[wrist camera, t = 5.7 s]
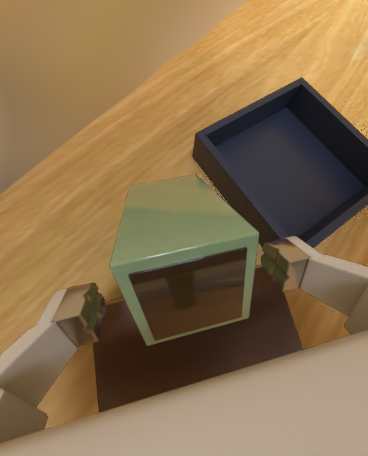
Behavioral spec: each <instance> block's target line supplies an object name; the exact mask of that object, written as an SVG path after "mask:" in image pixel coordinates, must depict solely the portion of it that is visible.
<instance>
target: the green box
mask: <svg viewBox="0 0 368 456" xmlns="http://www.w3.org/2000/svg"><path fill="white" fill-rule="evenodd" d="M258 240H259V232H258V231H257V230H256V229H255V228H254V227H253V226H252V225H251V224H249V223H248V222H247V221H246V220H245V219H244V218H243V217H242V216H241V215H240V214H239V213H237V212H236V211H235V210H234V209H233V208H232V207H231V206H230V205H229V204H228V203H226V202H225V201H224V200H223V199H222V198H221V197H220V196H219V195H218V194H217V193H216V192H214V191H213V190H212V189H211V188H210V187H209V186H208V185H207V184H206V183H205V182H204V181H202V180H201V179H200V178H199V177H198V176H197V175H196V174H193V175H188V176H182V177H176V178H171V179H165V180H159V181H154V182H148V183H143V184H137V185H131V186H130V187H129V191H128V194H127V198H126V202H125V206H124V210H123V214H122V218H121V222H120V225H119V229H118V233H117V237H116V241H115V245H114V249H113V253H112V257H111V260H110V264H109V267H110V269H111V271H112V273H113V275H114V277H115V280H116V282H117V284H118V286H119V288H120V290H121V292H122V294H123V297H124V299H125V301H126V303H127V305H128V307H129V309H130V312H131V314H132V316H133V318H134V320H135V322H136V324H137V326H138V329H139V331H140V333H141V335H142V337H143V339H144V341H145V343H146V346H149V345H153V344H157V343H160V342H164V341H168V340H171V339H175V338H178V337H182V336H186V335H189V334H193V333H197V332H200V331H204V330H208V329H211V328H215V327H219V326H222V325H226V324H229V323H233V322H237V321H240V320H244V319H248V318H249V314H250V305H251V297H252V289H253V281H254V273H255V265H256V256H257V248H258Z"/></svg>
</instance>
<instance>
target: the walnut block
mask: <svg viewBox="0 0 368 456" xmlns="http://www.w3.org/2000/svg"><path fill="white" fill-rule="evenodd" d="M105 309H106V310H105V315H104V317H103V318H102V319H101V320H100V322H101V324H102V329H101V333H100V338H99V341H97V342H94V343H93V350H94V362H95V373H96V384H97V396H98V407H99V412H103V411H106V410H109V409H112V408H116V407H119V406H122V405H125V404H129V403H132V402H135V401H138V400H142V399H145V398H148V397H151V396H154V395H158V394H161V393H164V392H167V391H171V390H174V389H177V388H180V387H184V386H187V385H190V384H193V383H197V382H200V381H203V380H206V379H210V378H213V377H216V376H219V375H223V374H226V373H229V372H232V371H236V370H239V369H242V368H245V367H248V366H252V365H255V364H258V363H261V362H265V361H268V360H271V359H274V358H278V357H281V356H284V355H287V354H291V353H294V352H297V351H300V350H304V349H303V347H302V344H301V341H300V338H299V335H298V332H297V329H296V327H295V324H294V321H293V318H292V315H291V312H290V309H289V306H288V304H287V301H286V298H285V295H284V292H282V291H281V290H280V289H279V287H278V286H277V285H276V284H275V283H274V282H273V277H272V276H270V275H267V273H266V272H265V271H264V269H263V267H262V265H259V266H255V273H254V281H253V289H252V297H251V305H250V314H249V318H248V319H244V320H240V321H237V322H233V323H229V324H226V325H222V326H219V327H215V328H211V329H208V330H204V331H200V332H197V333H193V334H189V335H186V336H182V337H178V338H175V339H171V340H168V341H164V342H160V343H157V344H153V345H149V346H146V343H145V341H144V339H143V337H142V335H141V333H140V331H139V329H138V326H137V324H136V322H135V320H134V318H133V316H132V314H131V312H130V309H129V307H128V305H127V303H126V301H125V299H124V297H121V298H116V299H113V300H111V301H108V302H106V303H105Z"/></svg>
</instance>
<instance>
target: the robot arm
mask: <svg viewBox="0 0 368 456" xmlns="http://www.w3.org/2000/svg"><path fill="white" fill-rule="evenodd" d="M262 250H263V251H264V252H265V253H264V254H263V255H262V256H261V264H262V267H263V269H264V271H265V272H266V273H267V275H270V276H272V277H273V282H274V283H275V284H276V285H277V286H278V287H279V289H280V290H281V291H282V292H285V291H289V290H294V289H298V288H300V290H302V291H304V292H306V293H307V294H309V295H311V296H313V297H315V298H316V299H318V300H320V301H322V302H324V303H326V304H327V305H329V306H331V307H333V308H335V309H336V310H338V311H340V312H342V313H344V314H345V315H347V316H349V317H348V319H347V321H346V322H345V324H344V328H345V329H346V330H347V331H348V332H349V333H350V334H351V335H349V336H346V337H342V338H339V339H336V340H333V341H330V342H326V343H323V344H320V345H317V346H313V347H310V348H307V349H304V350H300V351H297V352H294V353H291V354H287V355H284V356H281V357H278V358H274V359H271V360H268V361H265V362H261V363H258V364H255V365H252V366H248V367H245V368H242V369H239V370H236V371H232V372H229V373H226V374H223V375H219V376H216V377H213V378H210V379H206V380H203V381H200V382H197V383H193V384H190V385H187V386H184V387H180V388H177V389H174V390H171V391H167V392H164V393H161V394H158V395H154V396H151V397H148V398H145V399H142V400H138V401H135V402H132V403H129V404H125V405H122V406H119V407H116V408H112V409H109V410H106V411H103V412H99V413H96V414H93V415H90V416H87V417H83V418H80V419H77V420H74V421H70V422H67V423H64V424H61V425H57V426H54V427H51V428H48V429H45V426H46V423H47V420H48V416H47V414H46V413H45V412H43V411H41V410H39V409H38V408H36V407H37V406H38V405H39V403H40V402H41V400H42V399H43V397H44V396H45V395H46V393H47V392H48V390H49V389H50V387H51V386H52V385H53V383H54V382H55V380H56V379H57V377H58V376H59V375H60V373H61V372H62V370H63V369H64V367H65V366H66V365H67V363H68V362H69V360H70V359H71V357H72V356H73V355H74V353H75V352H76V350H77V349H78V348H77V347H80V346H84V345H87V344H90V343H94V342H97V341H99V338H100V333H101V329H102V324H101V322H100V320H101V319H102V318H103V317H104V315H105V310H106V309H105V300H104V297H103V295H102V294H100V293H98V287H97V285H96V283H88V284H84V285H79V286H74V287H70V288H65V289H61V290H57V291H56V292H54V294H53V296H52V298H51V299H50V301H49V303H48V305H47V306H46V308H45V310H44V312H43V314H42V315H41V317H40V319H39V321H38V323H37V324H36V326H35V327H32V328H30V329H29V330H28V331H27V332H26V333H24V334H23V335H22V336H21V337H20V338H19V339H18V340H16V341H15V342H14V343H13V344H12V345H11V346H10V347H8V348H7V349H6V350H5V351H4V352H3V353H2V354H1V355H0V456H368V267H367V266H364V265H360V264H357V263H353V262H350V261H347V260H343V259H340V258H336V257H333V256H330V255H322V254H321V253H319V252H318V251H316V250H315V249H313V248H312V247H311V246H309V245H308V244H306V243H305V242H303V241H302V240H301V239H299V238H298V237H296V236H291V237H287V238H283V239H279V240H275V241H271V242H266V243H264V245H263V249H262Z"/></svg>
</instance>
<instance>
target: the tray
mask: <svg viewBox="0 0 368 456" xmlns="http://www.w3.org/2000/svg"><path fill="white" fill-rule="evenodd" d="M192 156H193V157H194V159H195V160H196V161H197V163H198V164H199V165H200V166H201V168H202V169H203V170H204V172H205V173H206V174H207V175H208V177H209V178H210V179H211V181H212V182H213V183H214V185H215V186H216V187H217V188H218V190H219V191H220V192H221V194H222V195H223V196H224V197H225V199H226V200H227V201H228V203H229V204H230V205H231V206H232V208H233V209H234V210H235V211H236V212H237V213H239V214H240V215H241V216H242V217H243V218H244V219H245V220H246V221H247V222H248V223H249V224H251V225H252V226H253V227H254V228H255V229H256V230H257V231H258V232H259V240H258V241H259V243H260V244H261V245H262V247H263V245H264V243H266V242H271V241H275V240H279V239H283V238H287V237H291V236H296V237H298V238H299V239H301V240H302V241H303V242H305V243H306V244H308V245H309V246H311V247H312V248H314V247H315V246H317V245H318V244H319V243H320V242H322V241H323V240H324V239H325V238H327V237H328V236H329V235H331V234H332V233H333V232H334V231H336V230H337V229H338V228H339V227H341V226H342V225H343V224H344V223H346V222H347V221H348V220H349V219H351V218H352V217H353V216H355V215H356V214H357V213H358V212H360V211H361V210H362V209H363V208H365V207H366V206H367V205H368V139H367V138H366V137H365V136H364V135H362V134H361V133H360V132H359V131H358V130H357V129H356V128H355V127H354V126H353V125H352V124H351V123H350V122H349V121H348V120H347V119H346V118H344V117H343V116H342V115H341V114H340V113H339V112H338V111H337V110H336V109H335V108H334V107H333V106H332V105H331V104H330V103H329V102H328V101H327V100H325V99H324V98H323V97H322V96H321V95H320V94H319V93H318V92H317V91H316V90H315V89H314V88H313V87H312V86H311V85H310V84H309V83H307V82H306V81H305V80H304V79H303V78H302V77H301V78H300V79H298V80H296V81H294V82H292V83H290V84H288V85H286V86H284V87H283V88H281V89H279V90H277V91H275V92H273V93H271V94H269V95H267V96H265V97H264V98H262V99H260V100H258V101H256V102H254V103H252V104H250V105H248V106H246V107H244V108H243V109H241V110H239V111H237V112H235V113H233V114H231V115H229V116H227V117H225V118H224V119H222V120H220V121H218V122H216V123H214V124H212V125H210V126H208V127H206V128H204V129H203V130H201V131H199V132H197V133H196V134H195V141H194V148H193V155H192Z"/></svg>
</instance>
